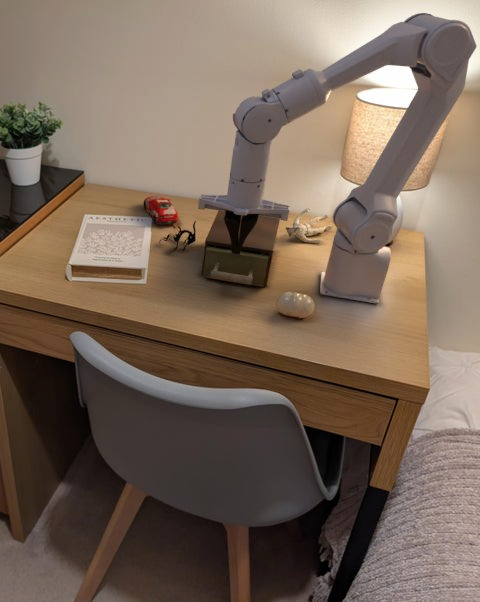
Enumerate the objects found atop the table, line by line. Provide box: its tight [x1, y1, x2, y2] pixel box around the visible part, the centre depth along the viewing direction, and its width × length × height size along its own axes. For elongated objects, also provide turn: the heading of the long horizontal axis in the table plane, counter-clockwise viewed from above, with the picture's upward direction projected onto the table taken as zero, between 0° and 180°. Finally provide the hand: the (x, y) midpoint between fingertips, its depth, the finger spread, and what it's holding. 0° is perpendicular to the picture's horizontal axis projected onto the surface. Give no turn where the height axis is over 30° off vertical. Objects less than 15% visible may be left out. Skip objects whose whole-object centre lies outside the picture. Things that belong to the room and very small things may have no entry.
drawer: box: [202, 245, 269, 287], centre depth 104 cm, size 18×11×6 cm, turn 159°
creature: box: [158, 220, 197, 254], centre depth 115 cm, size 8×5×8 cm
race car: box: [143, 195, 179, 226], centre depth 129 cm, size 13×5×4 cm, turn 9°
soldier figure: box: [285, 207, 333, 244], centre depth 118 cm, size 8×5×12 cm
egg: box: [275, 291, 315, 319], centre depth 94 cm, size 6×4×4 cm, turn 69°
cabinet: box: [200, 210, 281, 287], centre depth 108 cm, size 14×12×7 cm
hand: (236, 251), depth 98 cm, fingers closed
